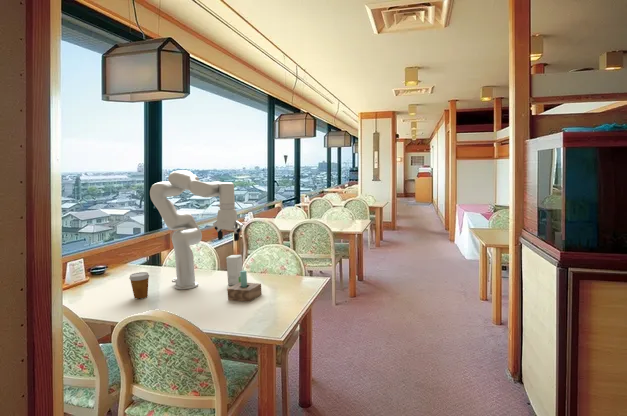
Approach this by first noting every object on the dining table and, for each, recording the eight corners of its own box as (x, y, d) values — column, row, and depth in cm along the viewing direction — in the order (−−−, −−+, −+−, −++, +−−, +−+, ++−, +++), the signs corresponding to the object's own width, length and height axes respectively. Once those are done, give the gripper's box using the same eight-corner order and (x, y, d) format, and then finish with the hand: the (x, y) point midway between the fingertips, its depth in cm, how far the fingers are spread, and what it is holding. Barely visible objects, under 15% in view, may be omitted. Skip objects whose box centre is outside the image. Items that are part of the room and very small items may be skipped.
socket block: (228, 299, 204) (227, 288, 203) (241, 292, 215) (240, 282, 214) (249, 301, 200) (248, 290, 199) (261, 294, 211) (261, 283, 210)
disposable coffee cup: (155, 294, 217) (153, 272, 216) (142, 300, 208) (140, 277, 207) (140, 293, 220) (138, 271, 219) (126, 299, 211) (124, 276, 210)
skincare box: (238, 285, 228) (236, 257, 226) (227, 285, 229) (225, 257, 227) (244, 281, 236) (242, 254, 234) (233, 281, 237) (231, 254, 236)
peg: (240, 295, 206) (239, 271, 205) (243, 293, 209) (242, 270, 208) (245, 296, 205) (244, 272, 204) (248, 294, 208) (247, 270, 207)
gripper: (208, 207, 211) (209, 240, 213) (237, 208, 205) (238, 242, 207) (217, 205, 218) (218, 237, 220) (245, 206, 212) (246, 239, 214)
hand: (228, 240), depth 214 cm, fingers open, 9 cm apart
